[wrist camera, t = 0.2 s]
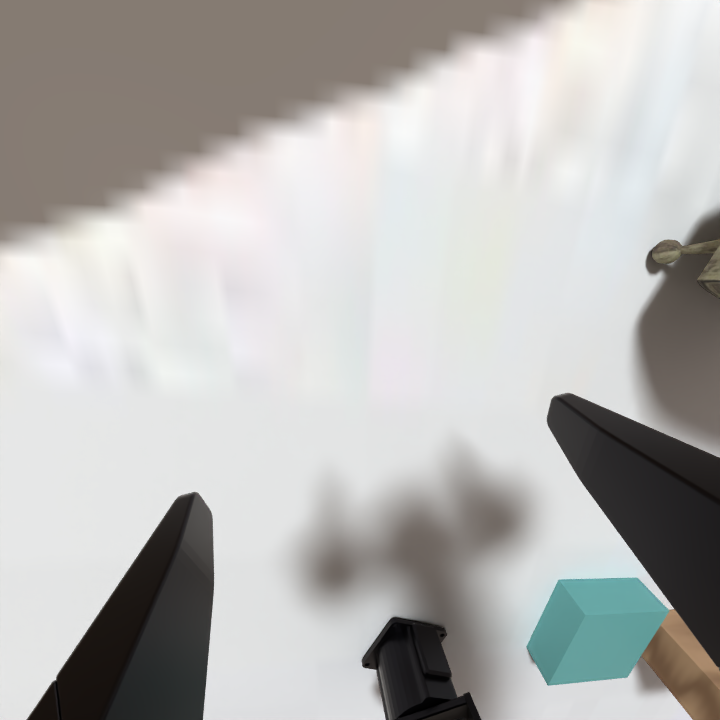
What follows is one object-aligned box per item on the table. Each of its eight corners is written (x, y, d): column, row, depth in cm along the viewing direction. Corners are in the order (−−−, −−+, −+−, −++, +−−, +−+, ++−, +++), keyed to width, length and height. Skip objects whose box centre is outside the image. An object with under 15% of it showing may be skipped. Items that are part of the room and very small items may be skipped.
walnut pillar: (662, 638, 45) (798, 790, 33) (629, 640, 44) (757, 799, 32) (681, 609, 43) (831, 758, 31) (647, 610, 42) (789, 766, 30)
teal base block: (598, 638, 43) (627, 677, 39) (524, 643, 41) (547, 685, 37) (634, 574, 40) (669, 610, 36) (556, 576, 38) (585, 615, 34)
